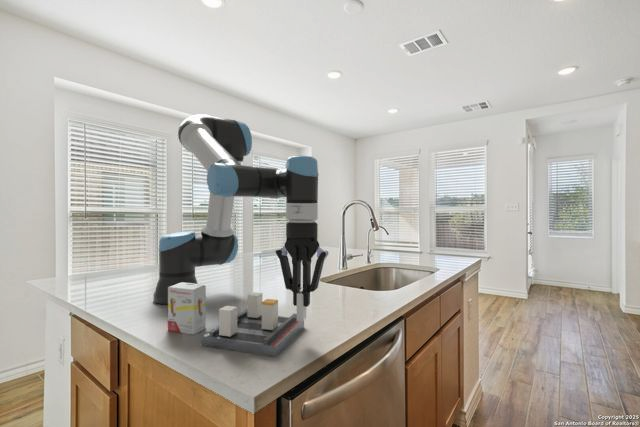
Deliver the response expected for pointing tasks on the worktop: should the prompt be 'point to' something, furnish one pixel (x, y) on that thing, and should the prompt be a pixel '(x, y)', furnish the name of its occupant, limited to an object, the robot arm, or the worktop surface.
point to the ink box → (187, 308)
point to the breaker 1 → (227, 321)
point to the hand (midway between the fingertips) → (301, 319)
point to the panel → (256, 335)
